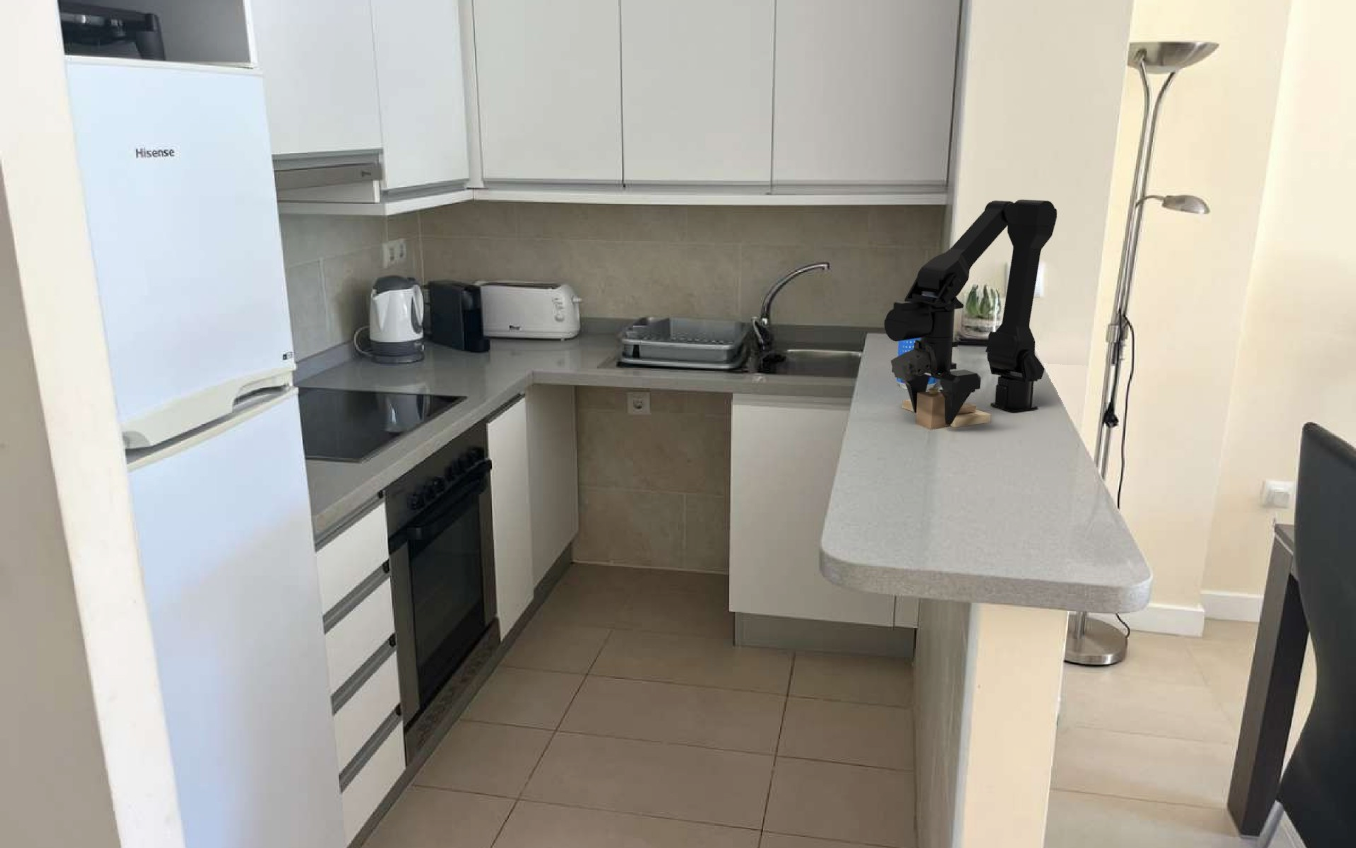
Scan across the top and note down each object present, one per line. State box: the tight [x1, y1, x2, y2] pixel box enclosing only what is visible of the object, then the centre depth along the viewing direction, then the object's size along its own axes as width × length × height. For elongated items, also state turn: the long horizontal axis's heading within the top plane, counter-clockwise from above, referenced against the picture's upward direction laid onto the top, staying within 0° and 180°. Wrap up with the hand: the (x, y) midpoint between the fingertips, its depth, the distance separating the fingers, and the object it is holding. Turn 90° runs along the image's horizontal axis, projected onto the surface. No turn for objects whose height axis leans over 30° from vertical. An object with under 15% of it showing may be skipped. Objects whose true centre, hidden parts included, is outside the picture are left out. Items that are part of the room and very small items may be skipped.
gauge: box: [915, 387, 977, 431], centre depth 185 cm, size 11×4×7 cm, turn 114°
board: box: [902, 398, 991, 428], centre depth 191 cm, size 8×16×2 cm, turn 24°
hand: (932, 418), depth 184 cm, fingers open, 9 cm apart
